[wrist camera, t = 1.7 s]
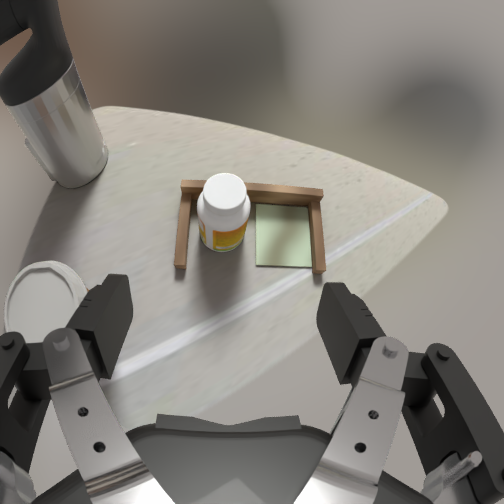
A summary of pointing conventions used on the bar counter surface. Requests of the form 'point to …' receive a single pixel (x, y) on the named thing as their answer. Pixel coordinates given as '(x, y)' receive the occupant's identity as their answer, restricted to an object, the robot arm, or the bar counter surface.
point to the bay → (270, 225)
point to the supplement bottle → (223, 212)
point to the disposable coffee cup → (42, 299)
